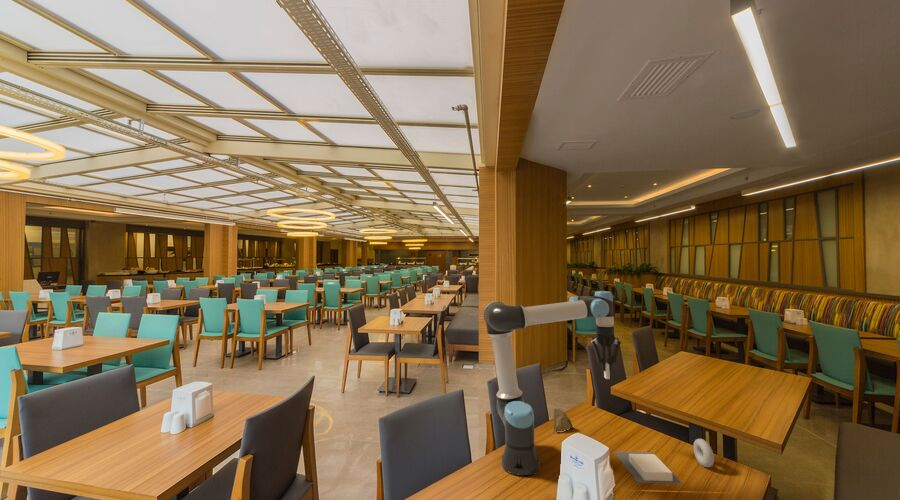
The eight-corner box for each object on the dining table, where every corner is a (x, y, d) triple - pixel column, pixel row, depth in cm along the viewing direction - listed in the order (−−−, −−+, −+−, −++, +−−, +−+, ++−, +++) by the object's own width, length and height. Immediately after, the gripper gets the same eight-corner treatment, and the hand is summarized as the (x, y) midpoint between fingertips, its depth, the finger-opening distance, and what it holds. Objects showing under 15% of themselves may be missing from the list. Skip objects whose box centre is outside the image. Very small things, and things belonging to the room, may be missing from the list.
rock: (571, 420, 179) (551, 416, 181) (575, 410, 174) (554, 406, 176) (573, 441, 170) (552, 437, 172) (577, 432, 166) (555, 427, 167)
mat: (614, 453, 151) (614, 451, 151) (652, 453, 150) (652, 452, 150) (637, 484, 129) (637, 482, 129) (683, 485, 128) (683, 483, 128)
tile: (628, 453, 144) (644, 472, 131) (654, 454, 143) (672, 472, 130) (629, 461, 143) (644, 480, 130) (654, 462, 143) (672, 481, 130)
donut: (716, 473, 136) (715, 446, 136) (707, 472, 136) (705, 445, 136) (700, 459, 146) (699, 434, 146) (692, 458, 146) (690, 433, 146)
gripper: (616, 324, 164) (618, 375, 163) (587, 324, 165) (589, 375, 164) (623, 326, 157) (625, 380, 156) (592, 326, 158) (595, 380, 156)
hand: (606, 378), depth 160 cm, fingers closed
